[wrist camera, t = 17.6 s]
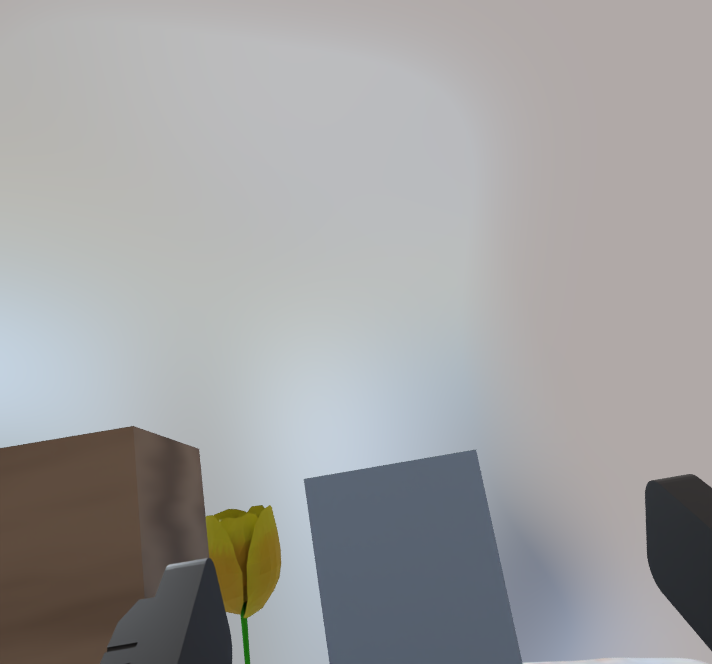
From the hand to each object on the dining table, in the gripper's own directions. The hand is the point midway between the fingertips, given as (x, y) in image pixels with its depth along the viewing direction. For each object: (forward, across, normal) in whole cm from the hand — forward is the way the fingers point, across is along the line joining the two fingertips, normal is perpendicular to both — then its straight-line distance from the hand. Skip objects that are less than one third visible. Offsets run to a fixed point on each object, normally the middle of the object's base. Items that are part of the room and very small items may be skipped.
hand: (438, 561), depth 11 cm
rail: (+11, 0, -14) cm, 18 cm away
